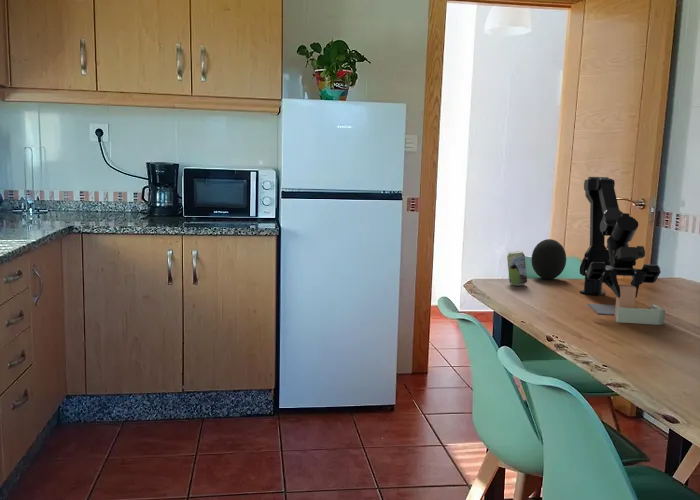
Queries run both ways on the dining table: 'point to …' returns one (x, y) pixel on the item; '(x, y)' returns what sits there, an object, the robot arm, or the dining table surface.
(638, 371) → the dining table surface
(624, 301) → the terracotta block
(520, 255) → the beverage can
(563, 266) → the decorative egg
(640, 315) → the bar
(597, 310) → the charcoal mat
